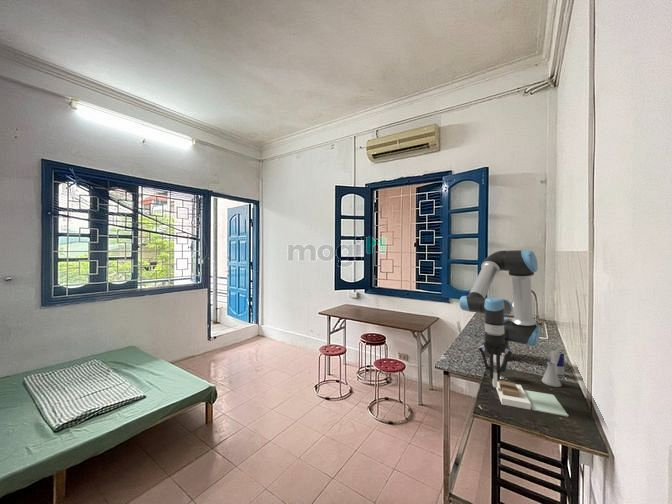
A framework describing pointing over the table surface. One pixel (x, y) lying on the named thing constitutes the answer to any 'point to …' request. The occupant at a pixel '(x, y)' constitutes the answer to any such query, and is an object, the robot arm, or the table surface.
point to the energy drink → (558, 362)
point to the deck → (514, 398)
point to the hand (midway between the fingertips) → (494, 385)
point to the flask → (551, 376)
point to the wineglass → (500, 360)
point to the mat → (545, 403)
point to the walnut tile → (509, 389)
